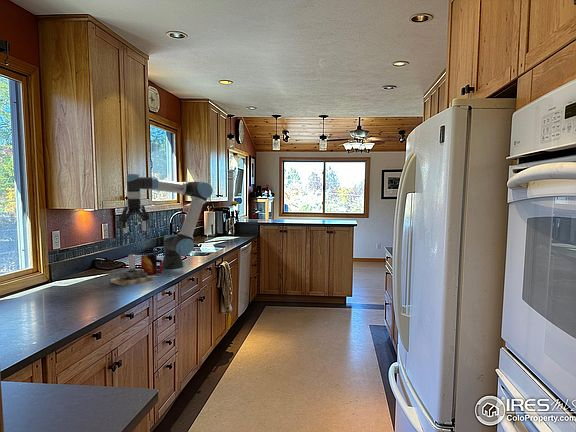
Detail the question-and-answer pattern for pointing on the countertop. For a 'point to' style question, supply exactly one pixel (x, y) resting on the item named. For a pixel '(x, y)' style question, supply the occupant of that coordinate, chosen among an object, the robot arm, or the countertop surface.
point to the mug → (150, 264)
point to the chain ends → (131, 277)
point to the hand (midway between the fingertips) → (135, 232)
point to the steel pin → (131, 263)
